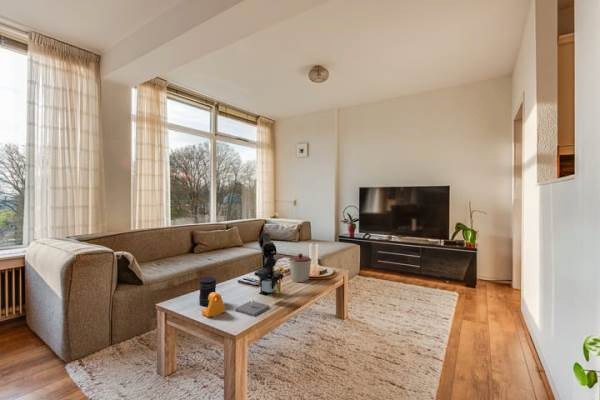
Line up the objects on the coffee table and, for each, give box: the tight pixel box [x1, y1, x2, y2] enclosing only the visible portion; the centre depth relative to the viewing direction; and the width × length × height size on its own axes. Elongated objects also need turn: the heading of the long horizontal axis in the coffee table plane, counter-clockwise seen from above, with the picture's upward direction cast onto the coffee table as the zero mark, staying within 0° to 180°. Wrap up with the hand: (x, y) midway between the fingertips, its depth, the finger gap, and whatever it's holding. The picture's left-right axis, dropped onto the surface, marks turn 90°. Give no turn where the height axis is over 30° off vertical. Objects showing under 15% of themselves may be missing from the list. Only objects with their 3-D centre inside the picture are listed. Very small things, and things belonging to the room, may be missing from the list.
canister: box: [288, 253, 313, 283], centre depth 221 cm, size 18×18×21 cm
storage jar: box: [198, 276, 217, 308], centre depth 174 cm, size 10×10×15 cm
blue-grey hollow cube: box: [262, 279, 276, 294], centre depth 177 cm, size 6×6×6 cm
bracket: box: [201, 291, 226, 318], centre depth 160 cm, size 11×7×12 cm, turn 139°
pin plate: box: [234, 299, 270, 317], centre depth 166 cm, size 14×14×6 cm
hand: (268, 288), depth 177 cm, fingers closed on blue-grey hollow cube, 6 cm apart
